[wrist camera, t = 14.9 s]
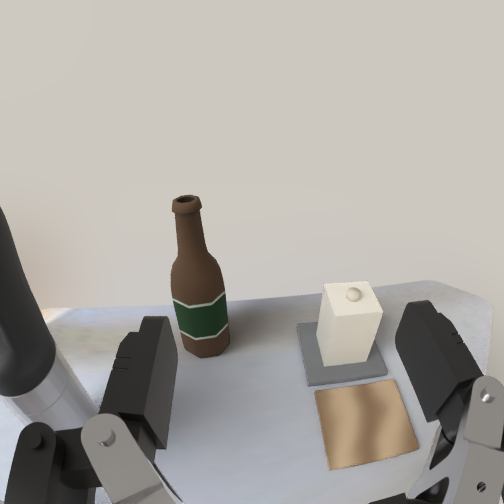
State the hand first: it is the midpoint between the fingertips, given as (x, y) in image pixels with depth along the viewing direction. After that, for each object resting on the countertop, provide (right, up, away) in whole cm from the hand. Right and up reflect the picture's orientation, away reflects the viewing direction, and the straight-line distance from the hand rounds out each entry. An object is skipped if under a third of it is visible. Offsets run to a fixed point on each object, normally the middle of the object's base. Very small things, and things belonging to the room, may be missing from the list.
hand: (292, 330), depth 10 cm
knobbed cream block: (+12, -12, +35) cm, 39 cm away
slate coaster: (+12, -13, +36) cm, 40 cm away
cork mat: (+13, -20, +25) cm, 34 cm away
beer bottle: (-9, -12, +39) cm, 41 cm away
